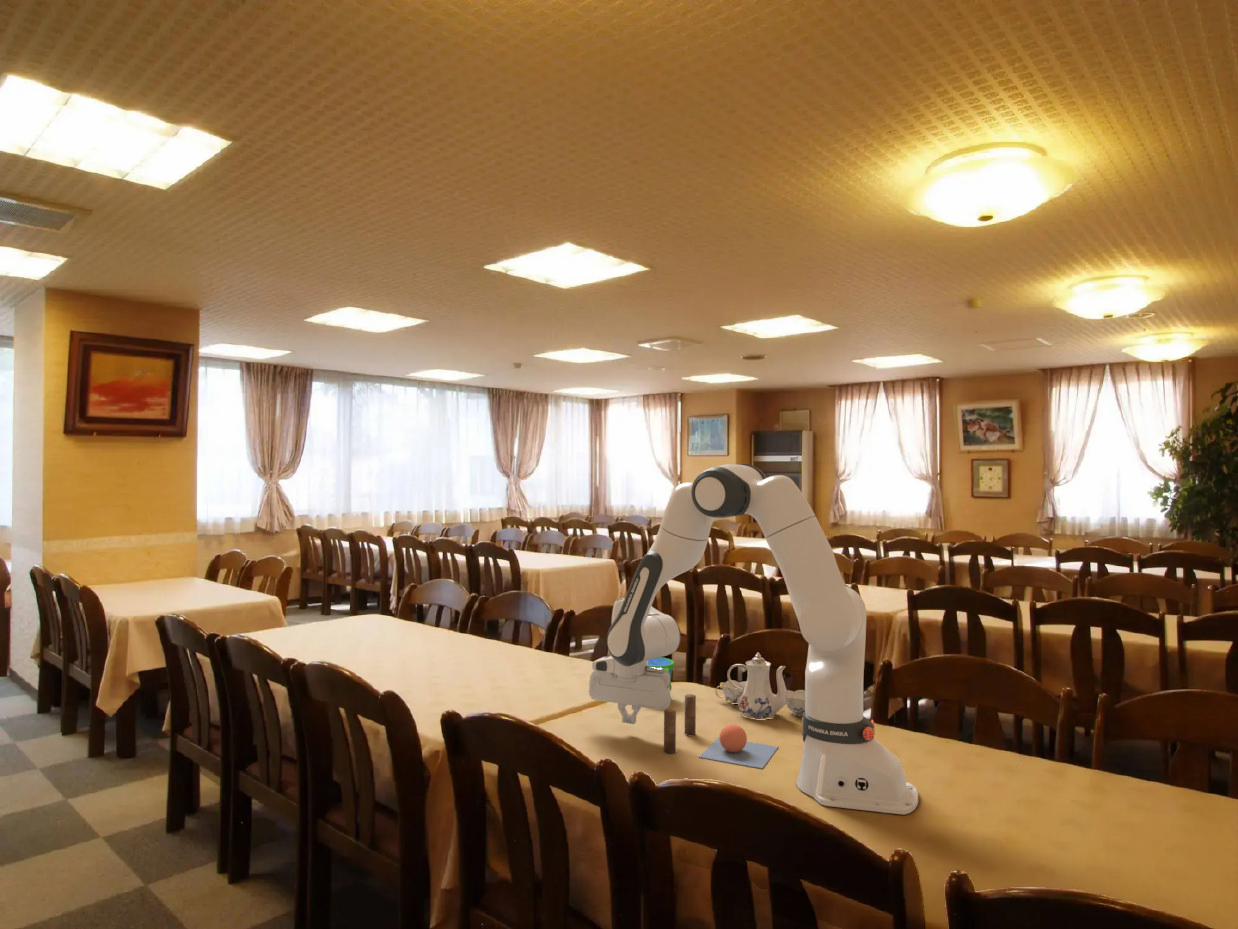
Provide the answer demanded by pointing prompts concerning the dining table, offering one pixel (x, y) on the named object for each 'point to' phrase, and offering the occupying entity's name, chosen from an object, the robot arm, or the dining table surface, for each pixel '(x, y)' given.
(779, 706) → the chinaware
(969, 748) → the dining table surface
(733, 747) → the ball
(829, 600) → the robot arm
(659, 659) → the snack cup
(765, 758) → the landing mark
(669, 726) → the post
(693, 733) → the post
